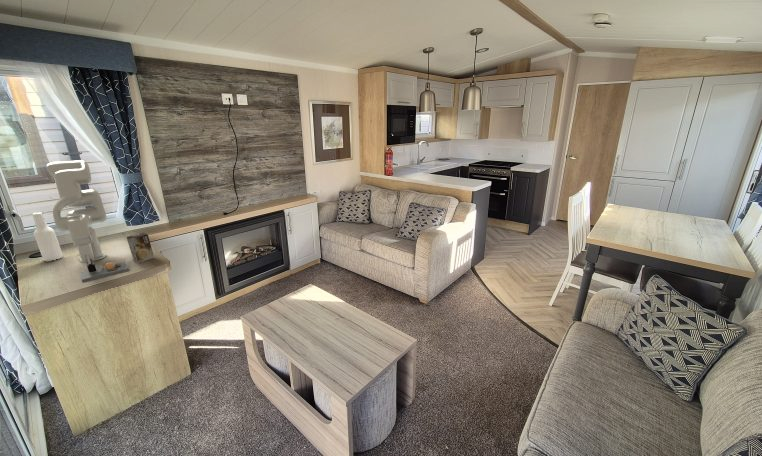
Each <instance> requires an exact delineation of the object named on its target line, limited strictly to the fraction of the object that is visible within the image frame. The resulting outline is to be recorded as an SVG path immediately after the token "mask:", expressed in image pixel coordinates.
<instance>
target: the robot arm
mask: <svg viewBox="0 0 762 456" xmlns="http://www.w3.org/2000/svg"><path fill="white" fill-rule="evenodd" d="M46 171H47V172H48V173H49V175H50V176H51V177H52V178H53V179H54V180H55V181H54V182H55V185H56V188H57V192H58V196H59V199H58V200H57V202H56V203H55V204H54V205H53V208H52V216H53V221H54V224H55V227H56V229H58V230H59V232H68V231H69V235H70V237H71V241H72V243H73V246H74V247H75V246H76V247H77V251H78V253H77V256H78V257H79V256H80V258H79V262H81V263H82V264H84V263H85V264H86V268H87V270H88V271H89V273H91V272H96V271H97V270H96V268H97V267H96V264H95V262H96V261H98V260H102V259H104V258H105V257H107V254H106V253H105V252H103V251H102V248H101V245H100V242H99V239H98V235H97V232H96V230H95V229H94V227H92V224H97V223H104V222H106V220H107V214H106V209H105V207H104V203H103V201H102V200H103V199H102V198H101V194H100V193H99V191H97V190H95V189H84V190H83V189H82V187H81V185H85V184H87V185H88V184H90V183H91V182H92V174H91V169H90V166H89V164H88V163H87V162H86V161H85V160H70V161H69V160H68V161H67V160H66V161H64V160H63V161H53V162H50V163H47V164H46ZM90 206H92V207H90ZM66 207H68V208H79V209H74V210H70V211H68V212H67V213H66V216H64V217H63V216H61V213H62V210H63V209H64V208H66ZM82 207H83V208H82ZM84 207H86V208H84ZM87 207H88V208H87Z"/></svg>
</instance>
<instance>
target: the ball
mask: <svg viewBox="0 0 762 456" xmlns="http://www.w3.org/2000/svg"><path fill="white" fill-rule="evenodd" d="M104 266H105V269H107V270H114V269H116V268H115V263H114V262H107V263H105V265H104Z"/></svg>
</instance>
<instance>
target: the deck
mask: <svg viewBox="0 0 762 456" xmlns="http://www.w3.org/2000/svg"><path fill="white" fill-rule="evenodd" d="M114 264H115V268H114V269H113V270H107V269H105V265H103V266H99V267H96V270H97V271H96V272H91V273H89V271H88V269H86V270H81V271H80V276H81V282H82V283H85V282H89V281H93V280H96V279H100V278H101V279H102V278H105V277H109V276H114V275H117V274H121V273H124V272H129V271H130V269H129V266H128V263H127V261H126V260H123V261H120V262H115V263H114Z"/></svg>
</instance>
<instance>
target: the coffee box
mask: <svg viewBox="0 0 762 456" xmlns="http://www.w3.org/2000/svg"><path fill="white" fill-rule="evenodd" d="M126 239H127V243H128V246H129V250H130V254H131V256H132V260H133V262H135V263H138V264H140V263H143V262H146V261H149V260H151V259H152V260H153V259H154V258H155V256H154V252H153V249H152V245H151V242H150V237H149V234H148V233H145V232H139V233H137V234H132V235H129V236H126Z"/></svg>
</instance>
